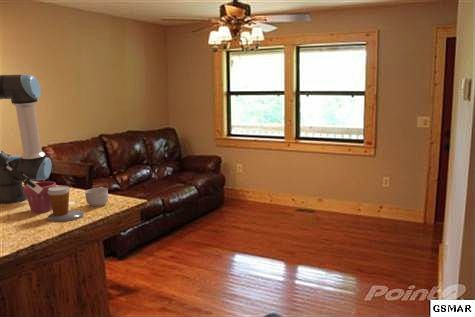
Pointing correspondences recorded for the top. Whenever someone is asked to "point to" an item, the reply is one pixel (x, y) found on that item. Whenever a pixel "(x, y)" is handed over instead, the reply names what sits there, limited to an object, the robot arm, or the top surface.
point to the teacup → (97, 196)
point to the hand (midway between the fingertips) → (36, 188)
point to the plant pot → (39, 197)
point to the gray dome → (66, 216)
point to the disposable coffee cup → (59, 199)
